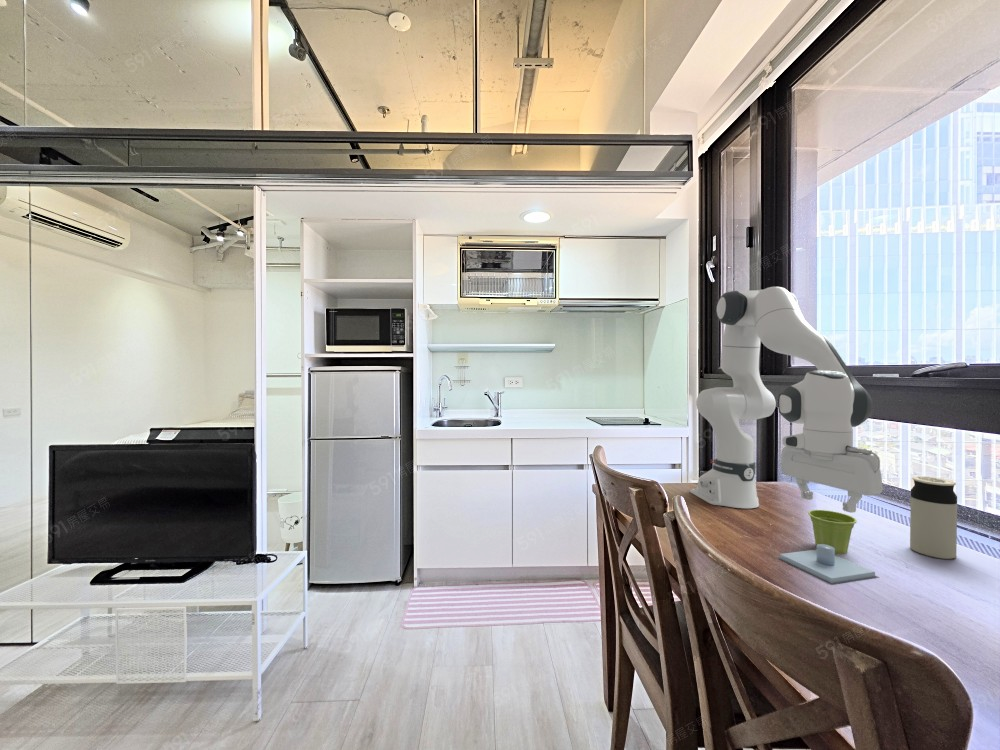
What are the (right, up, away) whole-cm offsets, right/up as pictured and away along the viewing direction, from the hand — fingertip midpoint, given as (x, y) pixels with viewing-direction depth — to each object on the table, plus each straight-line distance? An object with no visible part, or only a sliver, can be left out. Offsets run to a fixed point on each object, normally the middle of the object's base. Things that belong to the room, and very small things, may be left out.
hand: (827, 505), depth 95 cm
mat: (0, -15, 0) cm, 15 cm away
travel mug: (+33, -15, +10) cm, 38 cm away
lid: (0, -14, 0) cm, 14 cm away
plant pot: (+9, -15, +11) cm, 20 cm away
